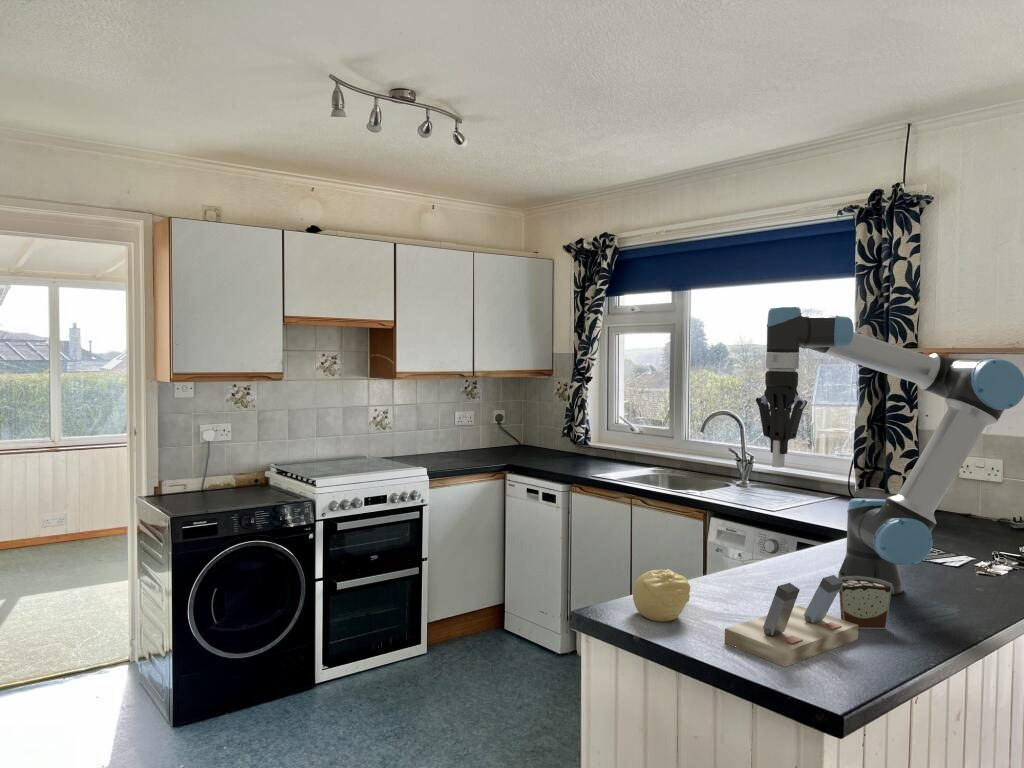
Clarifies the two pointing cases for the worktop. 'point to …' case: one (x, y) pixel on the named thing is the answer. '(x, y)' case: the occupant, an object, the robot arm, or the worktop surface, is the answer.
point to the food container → (865, 601)
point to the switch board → (792, 637)
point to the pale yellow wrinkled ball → (661, 594)
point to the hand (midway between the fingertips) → (778, 466)
